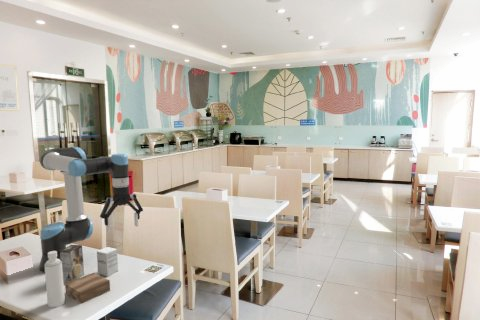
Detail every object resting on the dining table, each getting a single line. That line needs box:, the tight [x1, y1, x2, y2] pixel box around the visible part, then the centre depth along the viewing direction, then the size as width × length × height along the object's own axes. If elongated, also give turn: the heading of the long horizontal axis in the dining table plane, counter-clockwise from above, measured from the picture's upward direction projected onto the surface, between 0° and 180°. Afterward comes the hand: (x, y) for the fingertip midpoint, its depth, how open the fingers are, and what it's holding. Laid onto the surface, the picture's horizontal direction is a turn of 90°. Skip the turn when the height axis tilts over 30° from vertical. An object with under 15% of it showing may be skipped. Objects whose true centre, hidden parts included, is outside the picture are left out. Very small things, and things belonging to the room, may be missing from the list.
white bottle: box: [44, 251, 66, 308], centre depth 149 cm, size 7×7×25 cm
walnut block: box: [64, 272, 111, 304], centre depth 160 cm, size 14×14×5 cm
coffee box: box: [60, 244, 85, 283], centre depth 174 cm, size 9×6×16 cm
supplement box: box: [96, 246, 119, 278], centre depth 179 cm, size 7×7×13 cm
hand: (122, 228), depth 168 cm, fingers open, 13 cm apart
